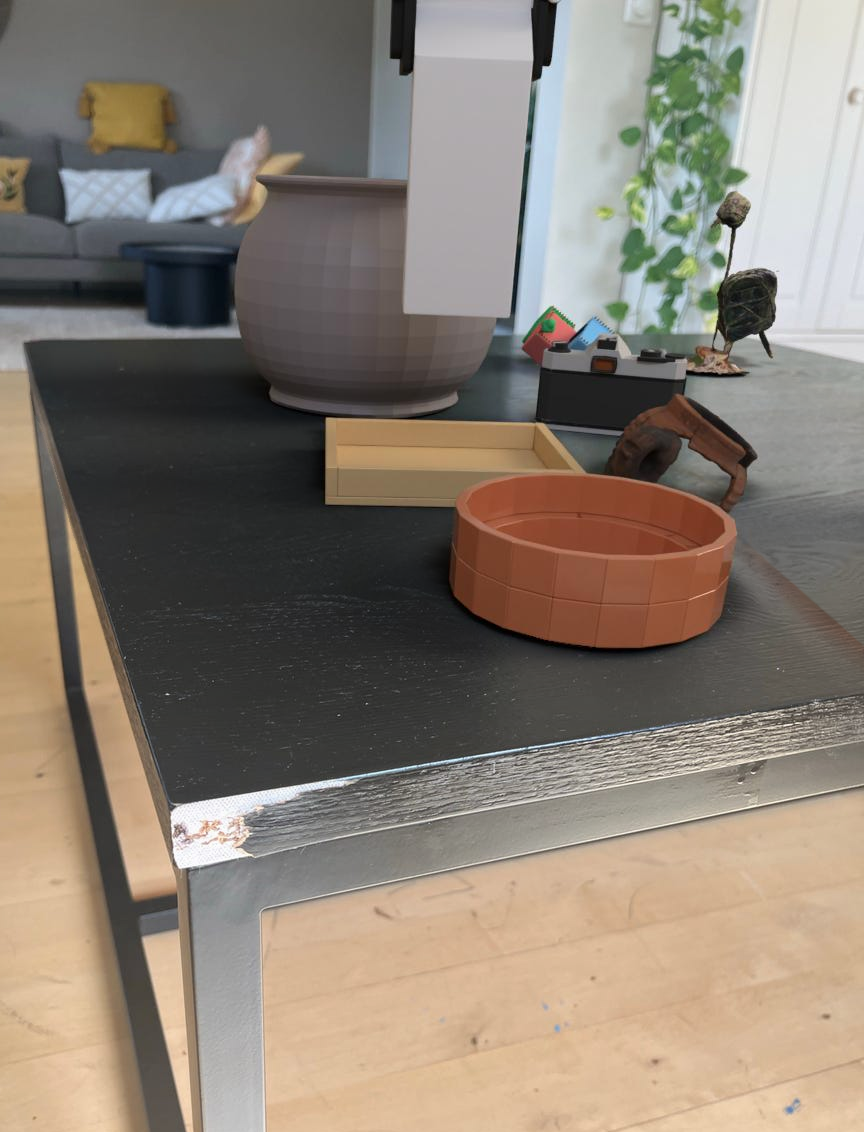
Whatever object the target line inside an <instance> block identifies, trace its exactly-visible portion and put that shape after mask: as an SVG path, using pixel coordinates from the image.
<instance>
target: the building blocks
mask: <svg viewBox="0 0 864 1132" xmlns="http://www.w3.org/2000/svg"><path fill="white" fill-rule="evenodd" d="M557 308H558V307H555V305H554V304H553V305H550V306H549V307H547V309H546V310H545V311H544V312H543V313H542V314H541V315H540V316H539V317H538V318H537V319H536V320H535V321H534V323H533V324H532V326H531V327H530V329H529V330H528V332H527V333H526V334H525V335H524V337H523V339H522V340H521V343H522V344H523V345H522V346H521V350H522V351H523V352H524V353H525V354H526V355H527V356H528V357H530V358H531V359H532V360H533V361H535V362H536V363H537V364H538V365H539V366H541V365H542V363H543V353H544V350H545V349H549V348H551V347H552V342H553V341H565V342H568V348H569V349H570V350H581V351H584V350H585V349H586V348H587V347H588V346H589V345H590V344H591V343H592V342H593V341H594V340H595V339H596V338H597V337H598V336H599V334H600V333H608V334H616V331H613V329H612V328H611V327H610V326H608V324H606V323H605V322H603V320H602V319H601V320H600V318H601V317H600V318H598V316H597V315H596V316H592V317H590V318H589V320H587V322H586V323H584V325H583V326H581V328H579V330H577V331H576V329H575V328H576V326H577V325H576V323H574V321H572V319H570V318H569V317H567V315H565V314H564V313H562V311H560V309H557Z"/></svg>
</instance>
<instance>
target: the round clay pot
mask: <svg viewBox="0 0 864 1132" xmlns="http://www.w3.org/2000/svg"><path fill="white" fill-rule="evenodd" d="M254 178H255V181H256V182H257V183H259V184H260V185H262V186H263V187H264V188H265V189H266V192H267V194H266V195H267V196H266V200H265V201H264V203H263V205H262V207H261V208H260V210H259V212H258V213H257V214H256V216H255V217H254V218H253V220H252V221H251V222H250V224H249V225H248V228H247V229H246V232H245V233H244V235H243V237H242V241H241V243H240V246H239V249H238V253H237V258H236V265H235V271H234V305H235V314H236V316H235V317H236V321H237V326H238V330H239V336H240V338H241V341H242V344H243V347H244V350H245V351H246V354H247V356H248V358H249V360H250V362H251V364H252V365H253V366H254V368H255V369H256V371H257V372H258V373H259V374H260V375H261V376H262V378H264V379H265V380H266V381H267V382H268V383H269V384H270V385H271V386H270V389H269V392H268V394H269V398H270V400H271V401H272V402H273V403H275V404H276V405H279V406H282V407H286V408H288V409H293V410H297V411H301V412H304V413H305V412H306V413H311V414H317V415H324V416H331V417H338V418H357V419H405V418H407V419H408V418H413V417H422V416H426V415H427V416H428V415H431V414H435V413H438V412H442V411H445V410H447V409H449V408H450V407H453V406H454V405H455V404H457V402H458V401H459V395H458V392H457V391H458V390H460V388H462V386H465V384H466V383H468V382H469V381H470V380H471V379H472V378H473V377H474V375H476V373H477V372H478V370H479V369H480V367H481V365H482V364H483V362H484V360H485V359H486V357H487V354H488V352H489V349H490V346H491V343H492V340H493V337H494V332H495V329H496V325H497V319H498V318H488V317H464V316H441V315H418V314H404V313H403V304H402V289H403V267H404V244H405V222H406V200H407V179H401V178H376V177H375V178H374V177H352V176H351V177H350V176H329V175H328V176H326V175H325V176H324V175H297V174H267V173H266V174H263V173H262V174H256V175H255V177H254Z"/></svg>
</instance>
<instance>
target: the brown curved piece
mask: <svg viewBox="0 0 864 1132" xmlns="http://www.w3.org/2000/svg"><path fill="white" fill-rule="evenodd" d="M682 439H684V440H687V441H688V443H687V448H688V449H689V450H691V451H693V452H695V453H697V454H699V455H700V456H701V457H702V458H703V459H705V460H706V461H708V462H712V463H714V464H715V465H717V467H718V468H719V469H720V470H721V471H722V472H724V473H726V474H728V475H729V476H730V481H729V486H728V489H727V490H726V493H725V494H724V496H723V498H722V499H721V500H720V503H719V507H720V508H721V509H722V510H723V511H725V512H726V513H727V514H728V513H729V512H731V511H732V510H733V507H734V506H736V504H738V501H739V499H740V497H742V496H744V495H745V489H746V485H747V480H748V468H749V467H750V466H751V465H752V464H753V462H755V461H757V460H758V453H757V452H756V450H755V449H754V448H753V446H752V445H751V444H750V443H749V442H748V441H747V440H746V439H745V438H744V437H742V435H741V434H740V433H738V431H736V430H735V429H734V428H733V427H732V426H730V425H729V424H728V423H727V422H725V420H724V419H722V418H720V416H718V415H716V413H714V412H712V411H711V410H709V409H708V408H706V407H705V406H704V405H703V404H701V403H700V402H698V401H696V400H695V399H693V398H690V397H688V396H685V395H684V396H683V395H680V394H675V395H674V396H673V398H672V399H671V401H670V402H669V403H668V404H667V405H666V406H662V407H656V408H653V409H649V410H647V411H646V412H644V413H642V414H639V415H638V416H637V418H636V419H635V420H633V421H632V422H631V423H630V425H629V426H627V427H626V428H625V429H624V433H622V434H621V435H620V436H619V439H618V440H617V441H616V443H615V447H613V449H612V451H611V452H612V453H611V455H609V456H608V458H607V462H606V463H605V466H604V469H603V472H602V473H601V475H606V476H615V477H624V478H629V479H634V480H639V481H644V482H650V483H655V484H658V482H659V481H660V478H661V477H662V476H663V475H664V474H665V473H666V472H667V471H668V470H669V467H670V466H671V465H673V464H674V463H675V462H676V461H677V460H678V457H679V454H680V451H681V449H682V445H683V441H682Z"/></svg>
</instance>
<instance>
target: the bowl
mask: <svg viewBox="0 0 864 1132" xmlns="http://www.w3.org/2000/svg"><path fill="white" fill-rule="evenodd" d="M452 520H453V523H452V533H451V535H452V536H451V547H450V548H451V550H450V562H449V563H450V564H449V577H448V578H449V579H448V582H449V584H450V587H451V591H452V594H453V597H454V598H455V599H457V601H459V602H460V603H461V604H462V605H463V606H464V607H465V608H467V609H468V610H469V611H470V612H471V613H472V614H473V615H475V616H478V617H479V618H482V619H484V620H486V621H488V622H490V623H493V624H494V625H496V626H499V627H500V628H502V629H506V630H508V631H512V632H515V633H519V634H522V635H525V634H526V635H525V636H528V635H529V636H528V637H531V636H533V637H532V638H534V637H536V638H535V639H538V638H540V639H539V640H542V639H543V640H542V641H546V640H548V641H547V642H551V641H554V642H553V643H556V642H561V643H568V644H575V645H582V646H589V647H588V648H592V647H596V648H595V649H641V648H649V647H656V646H663V645H670V644H677V643H680V642H684V641H686V640H689V639H692V638H694V637H696V636H699V635H701V634H704V633H706V632H708V631H709V630H710V629H711V628H712V627H713V626H714V625H715V623H716V622H717V621H718V620H719V619H720V618H721V616H722V614H723V613H722V612H723V608H724V602H725V598H726V593H727V588H728V583H729V578H730V573H731V567H732V564H733V558H734V553H735V547H736V543H737V539H738V538H737V536H738V531H737V525H736V520H735V519H734V518H733V517H732V516H731V515H730V514H728V512H727V513H726V512H725V511H723V510H722V509H721V507H720V506H718V505H716V504H715V503H712V502H710V501H708V500H705V499H704V498H701V497H699V496H696V495H695V494H692V493H689V492H686V491H684V490H683V491H682V490H680V489H676V488H674V487H673V488H672V487H669V486H666V485H663V484H659V483H657V484H655V483H650V482H644V481H639V480H634V479H629V478H624V477H615V476H606V475H602V474H596V473H587V472H586V473H558V472H545V473H544V472H542V473H528V474H515V475H507V476H502V477H497V478H493V479H488V480H483V481H481V482H479V483H476V484H474V485H472V486H470V487H468V488H466V489H464V490H463V491H462V492H461V493H460V495H459V496H458V498H457V499H456V501H455V506H454V507H453V519H452ZM582 646H581V647H582Z"/></svg>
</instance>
